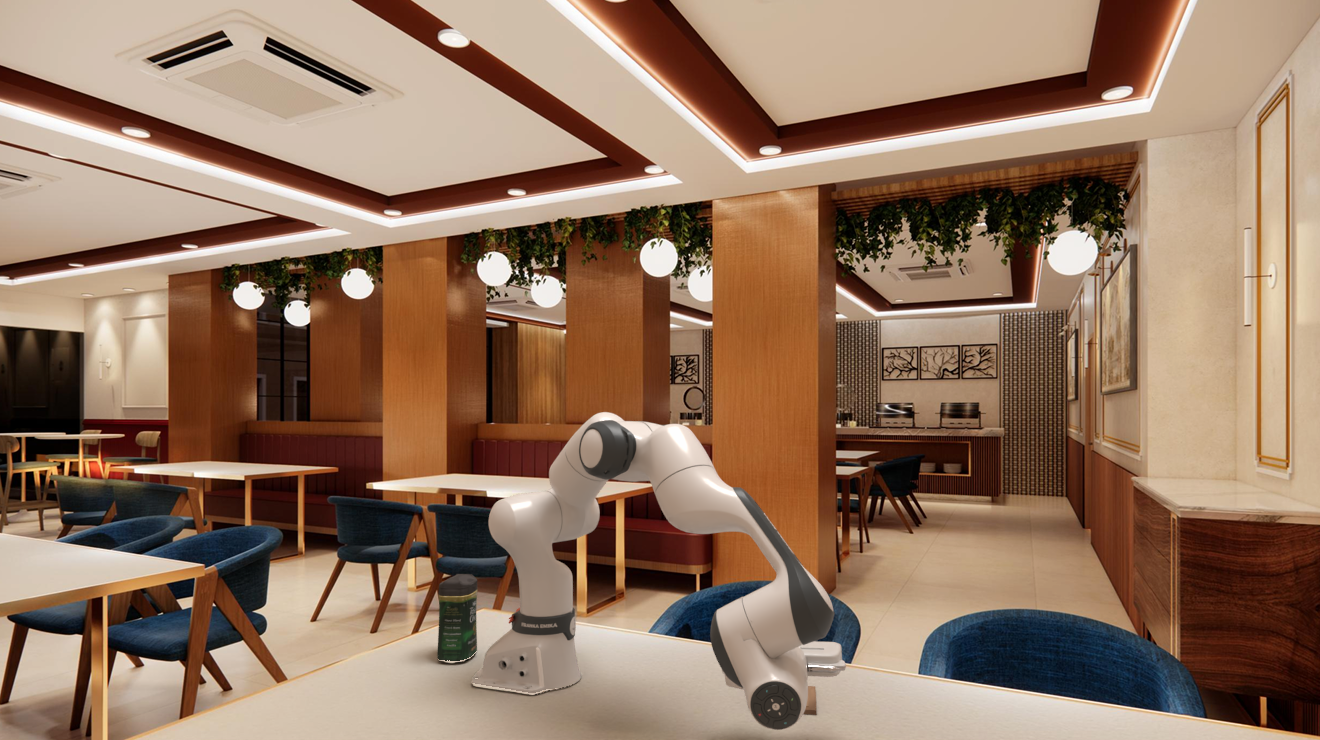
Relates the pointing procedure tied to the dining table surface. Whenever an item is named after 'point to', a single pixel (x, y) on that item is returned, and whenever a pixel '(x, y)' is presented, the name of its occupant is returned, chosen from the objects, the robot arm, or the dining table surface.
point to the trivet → (811, 701)
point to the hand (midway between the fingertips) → (781, 641)
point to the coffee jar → (457, 618)
